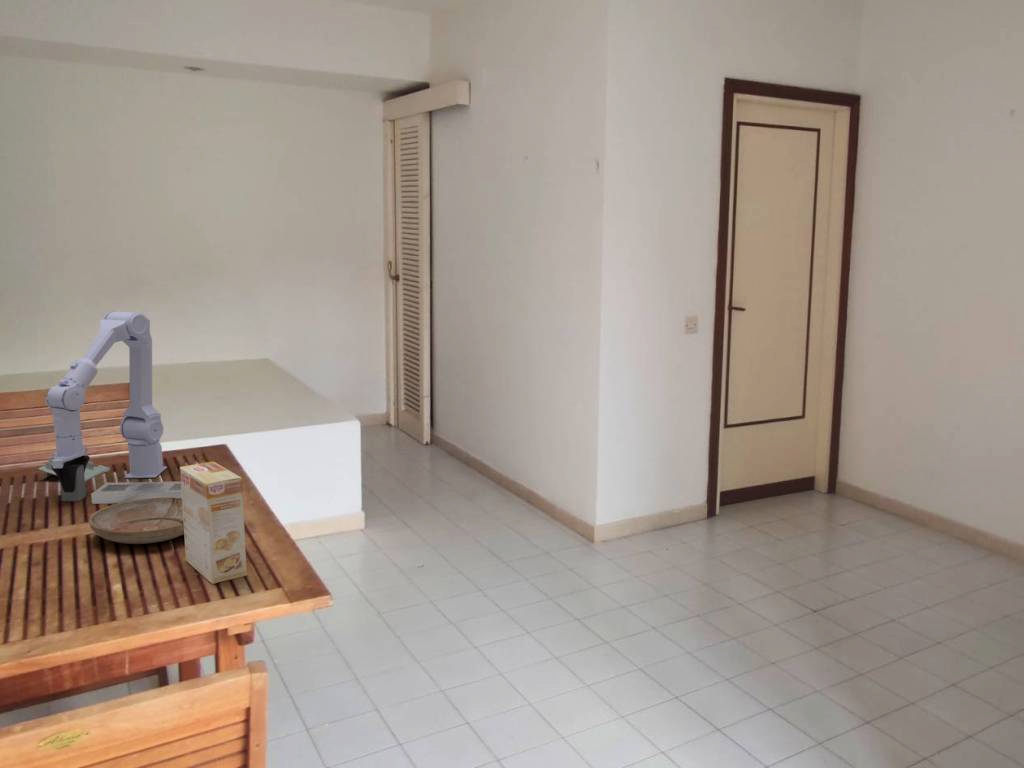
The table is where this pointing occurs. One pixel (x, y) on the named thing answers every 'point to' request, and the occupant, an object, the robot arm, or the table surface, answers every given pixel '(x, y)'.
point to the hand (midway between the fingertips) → (73, 489)
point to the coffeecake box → (213, 521)
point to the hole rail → (135, 491)
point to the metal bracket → (88, 474)
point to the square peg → (76, 487)
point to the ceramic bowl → (140, 521)
